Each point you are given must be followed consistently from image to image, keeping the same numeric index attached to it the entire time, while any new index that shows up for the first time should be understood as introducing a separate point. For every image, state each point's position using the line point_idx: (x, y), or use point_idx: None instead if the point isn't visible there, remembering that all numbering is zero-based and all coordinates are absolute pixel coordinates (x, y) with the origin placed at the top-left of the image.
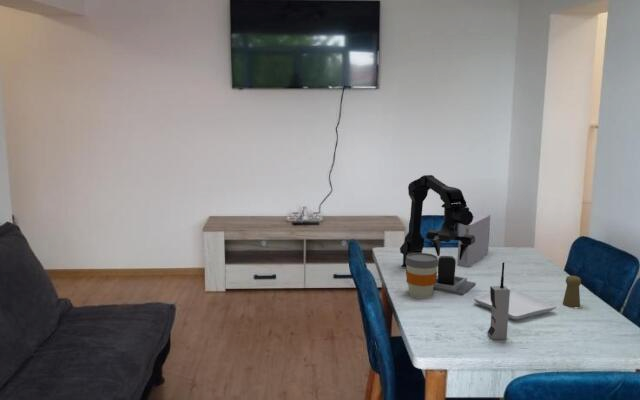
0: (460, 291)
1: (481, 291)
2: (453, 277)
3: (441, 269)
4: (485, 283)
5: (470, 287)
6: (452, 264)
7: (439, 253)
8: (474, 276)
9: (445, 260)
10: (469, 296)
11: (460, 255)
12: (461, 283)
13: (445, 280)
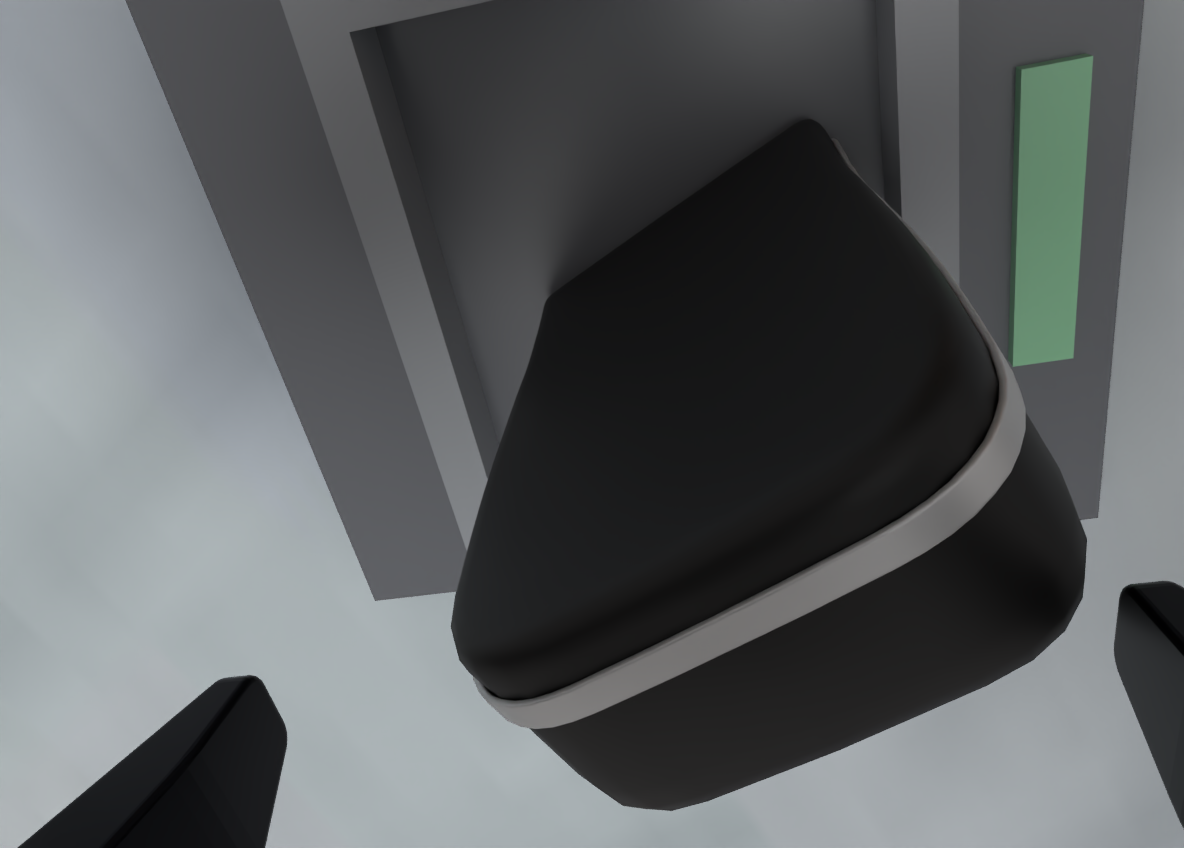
0: (224, 35)
1: (141, 401)
2: (538, 348)
3: (797, 255)
4: (345, 699)
5: (290, 385)
6: (527, 505)
7: (1161, 737)
8: (605, 825)
9: (725, 466)
10: (53, 27)
11: (111, 804)
12: (407, 352)
13: (679, 225)
